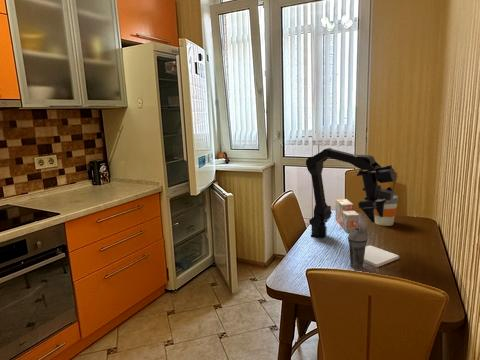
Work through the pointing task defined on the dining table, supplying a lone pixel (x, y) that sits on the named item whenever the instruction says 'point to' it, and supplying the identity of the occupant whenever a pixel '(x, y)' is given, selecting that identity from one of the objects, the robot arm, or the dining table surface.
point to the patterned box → (346, 215)
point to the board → (377, 256)
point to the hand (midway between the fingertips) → (377, 219)
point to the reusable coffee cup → (387, 212)
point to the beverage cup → (357, 247)
